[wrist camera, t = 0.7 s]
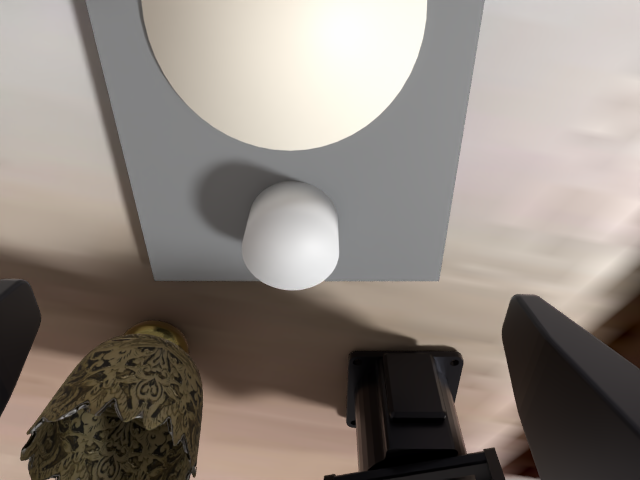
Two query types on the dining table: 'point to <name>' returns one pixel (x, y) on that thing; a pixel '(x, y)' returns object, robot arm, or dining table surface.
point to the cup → (123, 412)
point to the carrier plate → (290, 133)
